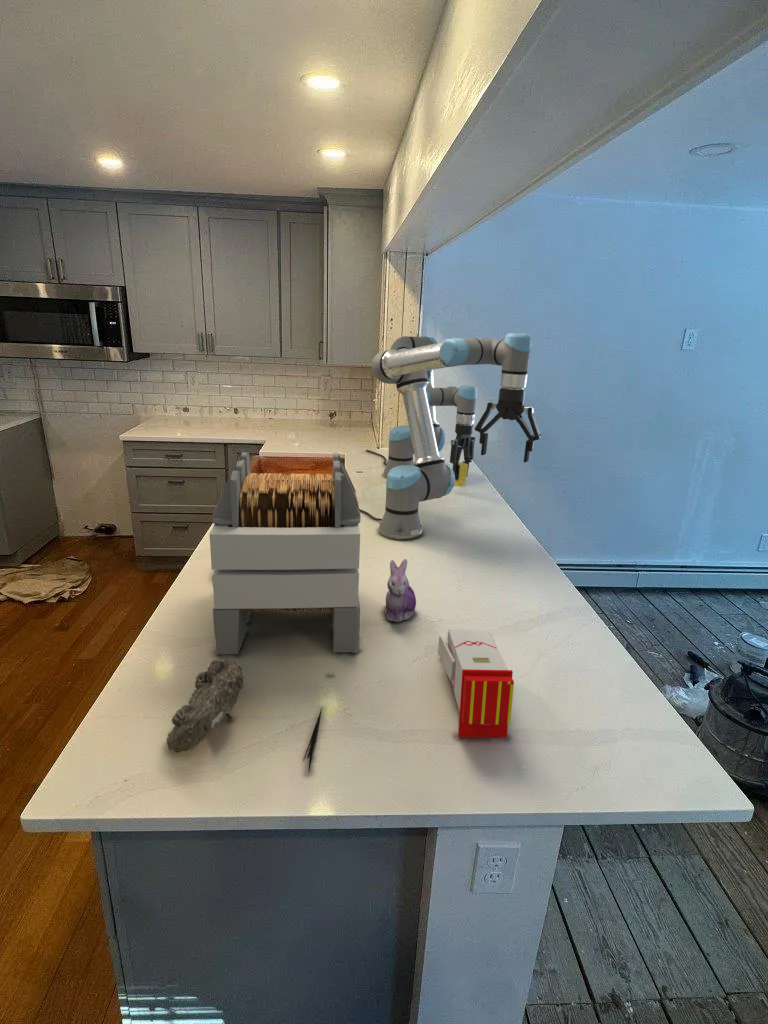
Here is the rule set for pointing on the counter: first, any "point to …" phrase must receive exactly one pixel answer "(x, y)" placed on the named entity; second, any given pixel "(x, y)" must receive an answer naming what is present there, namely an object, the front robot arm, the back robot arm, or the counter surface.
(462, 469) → the yellow cylinder
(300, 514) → the transformer
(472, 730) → the toy
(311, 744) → the feather
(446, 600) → the counter surface
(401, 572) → the figurine
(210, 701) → the fossil
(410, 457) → the back robot arm
